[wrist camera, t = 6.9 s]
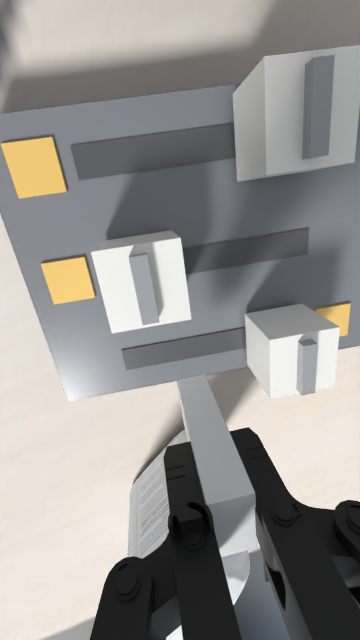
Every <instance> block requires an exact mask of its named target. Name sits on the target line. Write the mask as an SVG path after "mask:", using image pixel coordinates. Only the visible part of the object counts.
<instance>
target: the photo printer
mask: <svg viewBox="0 0 360 640" xmlns="http://www.w3.org/2000/svg"><path fill="white" fill-rule="evenodd" d="M184 442H188V439H187V434H186V430H185V429H184V430H182V431H181V432H180V433H179V434H178V435H177V436H176V437H175V438H174V439H173V440H172V441H171V442H170V443H169V444H168V445H167V446H171V445H175V444H180V443H184ZM167 446H166V447H165V448H164V449H163V450H162V452H161V453H160V454H159V455H158V456H157V457H156V458H155V459H154V460H153V462H152V463H151V464H150V465H149V466H148V467H147V468H146V469H145V471H144V472H143V473H142V474H141V475H140V476H139V478H138V479H137V480H136V482H135V483H134V485H133V486H132V488H131V492H130V507H129V533H128V557H132V556H135V557H139V558H142V559H143V558H144V557H146V556H147V555H149V554H150V553H152V552H153V551H154V550H156V549H157V548H158V547H159V546H160V545H161V544H162V543H163V542H164V540H165V539H166V537H167V535H168V533H169V529H168V516H169V514H170V511H169V502H168V494H167V485H166V476H165V468H164V459H163V457H164V454H165V451H166V448H167ZM221 559H222V563H223V567H224V571H225V575H226V579H227V583H228V587H229V591H230V595H231V599H232V603H233V605H234V603H235V602H236V600H237V598H238V597H239V595H240V593H241V591H242V589H243V587H244V585H245V583H246V581H247V578H248V576H249V571H250V561H249V555H248V551H243V552H239V553H235V554H231V555H228V556H224V557H221ZM166 640H183V636H182V627H181V626H179V627H178V628H177V629H176V630H175V631H173V632H172V633H171V634H170V635H169V636H167V637H166Z"/></svg>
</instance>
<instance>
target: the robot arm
mask: <svg viewBox="0 0 360 640" xmlns="http://www.w3.org/2000/svg"><path fill="white" fill-rule="evenodd" d="M177 386H178V392H179V398H180V404H181V410H182V415H183V421H184V426H185V430H186V434H187V439H188V442H184V443H180V444H175V445H171V446H167V448H166V451H165V454H164V457H163V459H164V468H165V476H166V485H167V494H168V502H169V511H170V514H169V516H168V529H169V533H168V535H167V537H166V539H165V540H164V542H163V543H162V544H161V545H160V546H159V547H158V548H157V549H156V550H154V551H153V552H152V553H150V554H149V555H147V556H146V557H144V558H143V559H142V558H139V557H135V556H132V557H127V558H124V559H122V560H121V561H119V562H118V563H116V564H115V566H114V567H113V568H112V570H111V571H110V572H109V574H108V576H107V579H106V581H105V584H104V588H103V591H102V595H101V599H100V603H99V607H98V610H97V614H96V618H95V622H94V626H93V629H92V634H91V637H90V640H166V637H167V636H169V635H170V634H171V633H172V632H173V631H175V630H176V629H177V628H178V627H179V626H181V627H182V636H183V640H242V639H241V635H240V631H239V627H238V623H237V619H236V615H235V611H234V607H233V603H232V599H231V595H230V591H229V587H228V583H227V579H226V575H225V571H224V567H223V563H222V559H221V557H224V556H228V555H231V554H235V553H239V552H243V551H247V550H250V549H254V548H258V542H259V545H260V548H261V550H262V553H263V561H264V576H265V581H266V582H268V581H270V584H271V586H272V589H273V592H274V595H275V598H276V600H277V603H278V606H279V609H280V612H281V614H282V617H283V620H284V623H285V625H286V628H287V631H288V634H289V637H290V639H291V640H360V502H358V501H353V500H346V501H343V502H340V503H339V504H338V505H337V507H336V508H335V510H330V509H320V508H313V507H309V506H306V505H304V504H302V503H300V502H299V501H297V500H296V499H295V498H294V497H292V496H291V495H290V493H289V492H288V490H287V489H286V487H285V485H284V483H283V481H282V479H281V478H280V476H279V474H278V472H277V470H276V468H275V466H274V465H273V463H272V461H271V459H270V457H269V456H268V453H267V452H266V450H265V448H264V446H263V444H262V442H261V440H260V439H259V437H258V435H257V434H256V433H254V432H253V431H252V430H251V429H250V428H243V429H239V430H234V431H230V432H229V430H228V427H227V425H226V423H225V420H224V418H223V416H222V413H221V411H220V408H219V406H218V404H217V401H216V399H215V397H214V394H213V392H212V390H211V387H210V385H209V382H208V380H207V378H206V375H200V376H195V377H190V378H185V379H180V380H177Z"/></svg>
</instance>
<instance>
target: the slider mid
mask: <svg viewBox="0 0 360 640" xmlns="http://www.w3.org/2000/svg"><path fill="white" fill-rule="evenodd" d="M91 255H92V258H93V262H94V266H95V270H96V274H97V278H98V282H99V286H100V289H101V293H102V297H103V301H104V305H105V309H106V313H107V317H108V320H109V324H110V328H111V332H112V333H118V332H124V331H129V330H135V329H140V328H146V327H152V326H157V325H163V324H169V323H174V322H180V321H185V320H191V312H190V304H189V297H188V289H187V281H186V274H185V266H184V259H183V251H182V244H181V238H180V237H179V236H178V235H177V234H176V233H175V232H173V231H172V230H169V231H163V232H156V233H150V234H144V235H137V236H131V237H124V238H118V239H112V240H105V241H102V242H101V243H100V244H99V245H98V246H97V247H96V248H94V249H93V250H92V251H91Z"/></svg>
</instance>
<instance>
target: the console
mask: <svg viewBox="0 0 360 640" xmlns="http://www.w3.org/2000/svg"><path fill="white" fill-rule="evenodd" d="M240 85H241V84H233V85H225V86H217V87H209V88H201V89H193V90H185V91H177V92H169V93H161V94H153V95H145V96H137V97H129V98H121V99H113V100H105V101H97V102H89V103H81V104H73V105H65V106H57V107H49V108H41V109H33V110H25V111H17V112H9V113H1V114H0V214H1V217H2V219H3V222H4V225H5V228H6V230H7V233H8V236H9V239H10V241H11V244H12V247H13V250H14V252H15V255H16V258H17V261H18V263H19V266H20V269H21V272H22V274H23V277H24V280H25V283H26V285H27V288H28V291H29V294H30V296H31V299H32V302H33V305H34V308H35V310H36V313H37V316H38V319H39V321H40V324H41V327H42V330H43V332H44V335H45V338H46V341H47V343H48V346H49V349H50V352H51V354H52V357H53V360H54V363H55V365H56V368H57V371H58V374H59V376H60V379H61V382H62V385H63V387H64V390H65V393H66V396H67V398H68V401H74V400H79V399H84V398H89V397H95V396H100V395H105V394H110V393H115V392H121V391H126V390H131V389H136V388H142V387H147V386H152V385H157V384H162V383H168V382H173V381H177V380H180V379H185V378H190V377H195V376H200V375H209V374H215V373H220V372H225V371H230V370H235V369H241V368H246V367H249V366H248V365H247V349H246V330H245V314H246V313H251V312H257V311H263V310H268V309H274V308H279V307H285V306H291V305H296V304H304V305H305V306H307V307H308V308H310V309H312V310H313V311H315V312H317V313H318V314H320V315H321V316H323V317H325V318H326V319H328V320H329V321H331V322H333V323H334V324H336V325H338V326H339V327H340V333H339V343H338V350H340V349H345V348H350V347H356V346H360V108H359V119H358V130H357V141H356V151H355V162H353V163H348V164H343V165H338V166H333V167H327V168H322V169H317V170H312V171H307V172H300V173H293V174H287V175H280V176H273V177H266V178H260V179H253V180H246V181H239V182H237V169H236V150H235V131H234V112H233V93H234V92H235V91H236V89H237V88H238V87H239V86H240ZM169 230H172V231H173V232H175V233H176V234H177V235H178V236H179V237H180V238H181V244H182V251H183V259H184V266H185V274H186V281H187V289H188V297H189V304H190V312H191V320H185V321H180V322H174V323H169V324H163V325H157V326H152V327H146V328H140V329H135V330H129V331H124V332H118V333H112V332H111V328H110V324H109V320H108V317H107V313H106V309H105V305H104V301H103V297H102V293H101V289H100V286H99V282H98V278H97V274H96V270H95V266H94V262H93V258H92V255H91V251H92V250H93V249H94V248H96V247H97V246H98V245H99V244H100V243H101V242H102V241H105V240H112V239H118V238H124V237H131V236H137V235H144V234H150V233H156V232H163V231H169Z"/></svg>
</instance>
